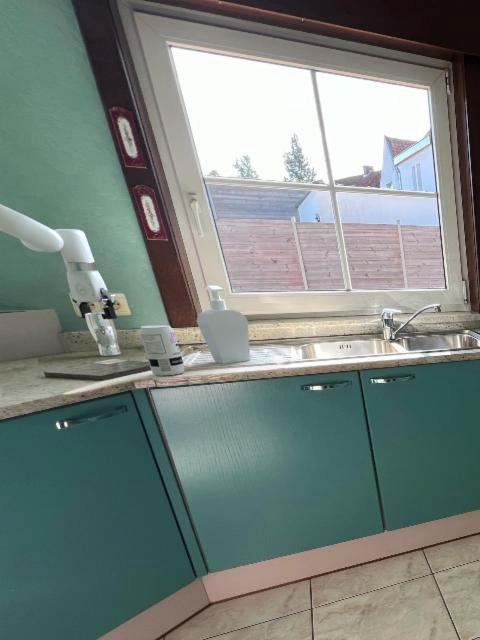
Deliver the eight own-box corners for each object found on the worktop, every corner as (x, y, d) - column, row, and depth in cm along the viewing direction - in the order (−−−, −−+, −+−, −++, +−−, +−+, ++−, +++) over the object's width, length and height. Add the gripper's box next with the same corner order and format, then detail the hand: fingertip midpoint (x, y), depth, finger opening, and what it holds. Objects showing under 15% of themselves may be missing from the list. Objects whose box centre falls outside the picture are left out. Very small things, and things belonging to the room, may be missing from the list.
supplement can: (149, 373, 157) (133, 326, 151) (180, 369, 163) (167, 323, 157) (157, 377, 152) (142, 328, 147) (190, 373, 159) (176, 326, 153)
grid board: (45, 376, 150) (43, 371, 149) (113, 363, 168) (111, 359, 168) (102, 380, 148) (101, 375, 147) (165, 366, 166) (164, 362, 166)
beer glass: (99, 357, 176) (84, 314, 171) (97, 354, 181) (82, 312, 175) (125, 355, 181) (111, 313, 176) (122, 352, 185) (109, 311, 180)
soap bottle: (242, 356, 185) (225, 284, 175) (257, 359, 180) (239, 286, 171) (205, 361, 175) (184, 285, 165) (219, 365, 170) (198, 287, 161)
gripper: (47, 267, 167) (67, 318, 174) (92, 268, 165) (110, 320, 172) (72, 266, 174) (90, 316, 181) (115, 268, 172) (131, 317, 179)
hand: (100, 318), depth 176 cm, fingers open, 9 cm apart
